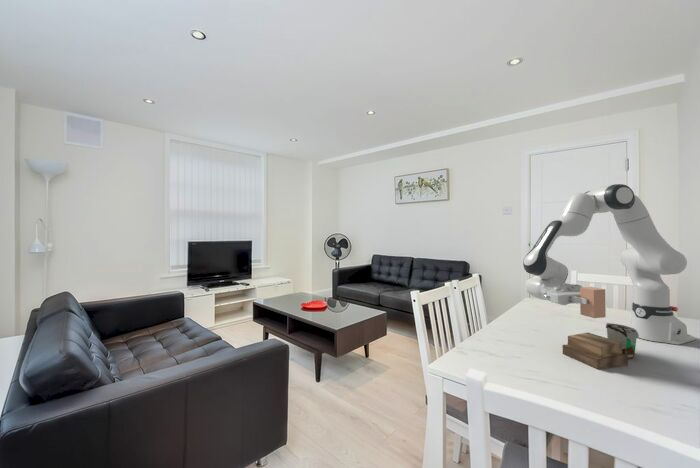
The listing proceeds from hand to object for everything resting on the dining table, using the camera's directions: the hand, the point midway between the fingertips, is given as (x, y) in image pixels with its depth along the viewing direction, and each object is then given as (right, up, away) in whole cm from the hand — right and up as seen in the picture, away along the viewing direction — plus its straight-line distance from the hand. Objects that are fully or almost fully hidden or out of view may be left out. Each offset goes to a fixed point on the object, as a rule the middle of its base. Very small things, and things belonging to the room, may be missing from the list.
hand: (595, 301), depth 106 cm
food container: (+16, -21, +5) cm, 27 cm away
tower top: (0, -18, +1) cm, 18 cm away
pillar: (0, -5, +1) cm, 6 cm away
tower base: (0, -22, +1) cm, 22 cm away
